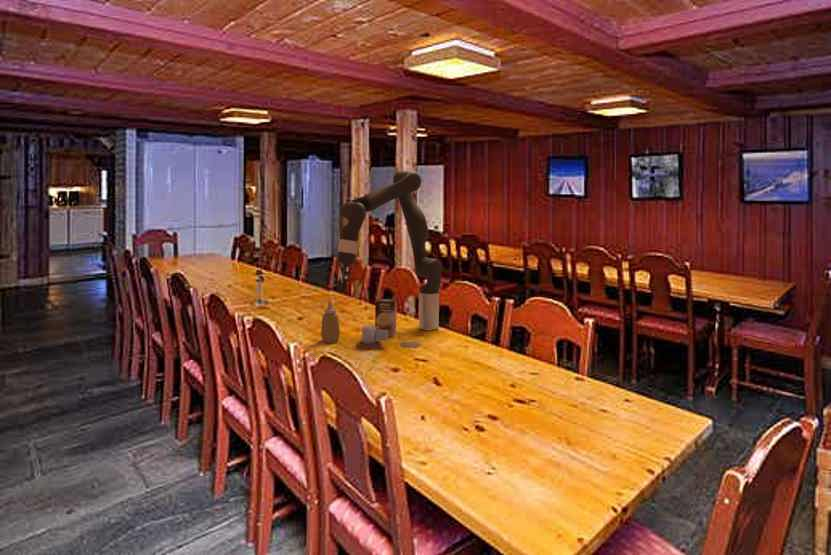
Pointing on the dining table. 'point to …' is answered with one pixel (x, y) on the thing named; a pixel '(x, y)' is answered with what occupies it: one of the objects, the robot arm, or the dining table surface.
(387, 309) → the coffee box
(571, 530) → the dining table surface
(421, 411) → the dining table surface
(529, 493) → the dining table surface
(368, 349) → the stand
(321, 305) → the dining table surface
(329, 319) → the squeeze bottle
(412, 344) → the felt coaster
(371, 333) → the jug
